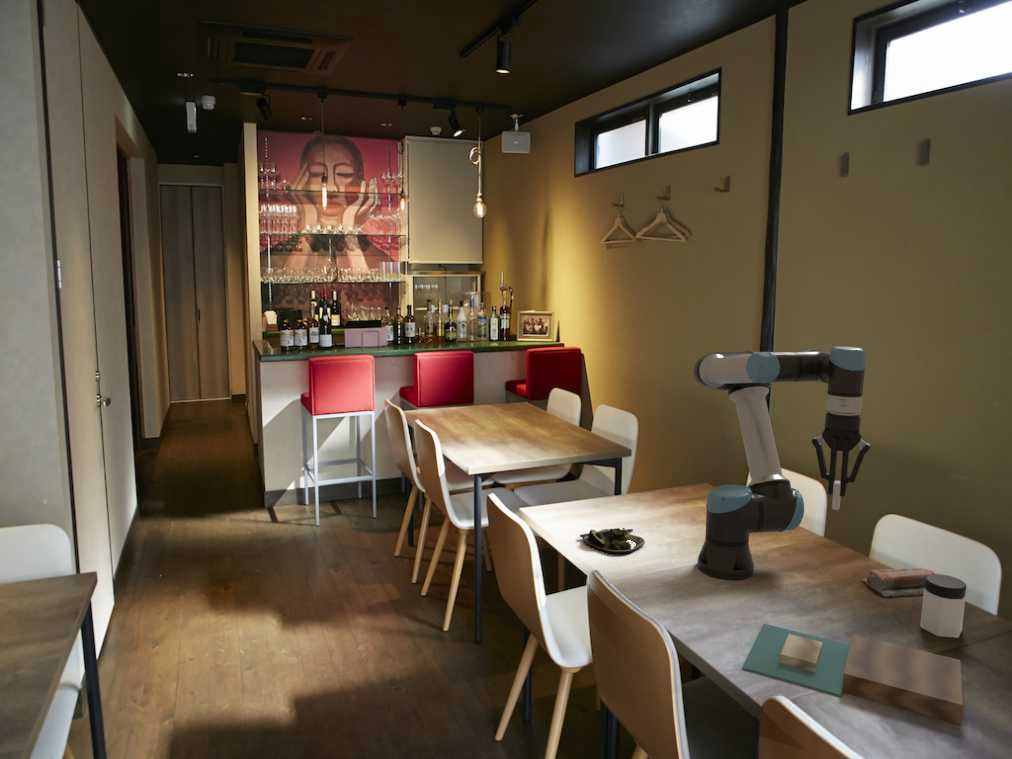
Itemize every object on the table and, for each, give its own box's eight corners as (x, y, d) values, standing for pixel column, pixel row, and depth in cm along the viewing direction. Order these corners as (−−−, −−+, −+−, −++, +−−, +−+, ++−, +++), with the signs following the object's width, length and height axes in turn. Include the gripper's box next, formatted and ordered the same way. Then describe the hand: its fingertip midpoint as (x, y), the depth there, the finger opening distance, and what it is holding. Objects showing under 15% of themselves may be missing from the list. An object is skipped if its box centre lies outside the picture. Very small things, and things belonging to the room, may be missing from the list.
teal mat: (742, 668, 150) (742, 667, 150) (763, 625, 168) (763, 623, 168) (840, 696, 140) (841, 694, 140) (852, 647, 159) (852, 645, 158)
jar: (924, 616, 173) (929, 570, 171) (963, 627, 168) (969, 579, 166) (917, 630, 166) (921, 582, 164) (957, 642, 161) (963, 592, 159)
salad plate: (611, 528, 233) (612, 514, 232) (657, 543, 220) (658, 529, 219) (572, 543, 219) (573, 528, 219) (619, 560, 206) (619, 545, 206)
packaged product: (886, 581, 182) (862, 565, 192) (885, 599, 183) (860, 582, 193) (949, 577, 185) (922, 562, 195) (948, 594, 186) (920, 578, 196)
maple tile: (816, 663, 147) (815, 672, 148) (822, 642, 156) (821, 650, 156) (780, 654, 151) (779, 662, 151) (788, 633, 159) (788, 642, 160)
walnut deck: (842, 691, 142) (843, 673, 141) (851, 651, 157) (852, 634, 156) (960, 724, 131) (962, 705, 131) (958, 678, 147) (960, 660, 146)
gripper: (811, 412, 168) (804, 507, 172) (872, 418, 162) (864, 517, 165) (815, 407, 175) (809, 499, 178) (875, 412, 168) (867, 508, 172)
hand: (835, 508), depth 172 cm, fingers closed
